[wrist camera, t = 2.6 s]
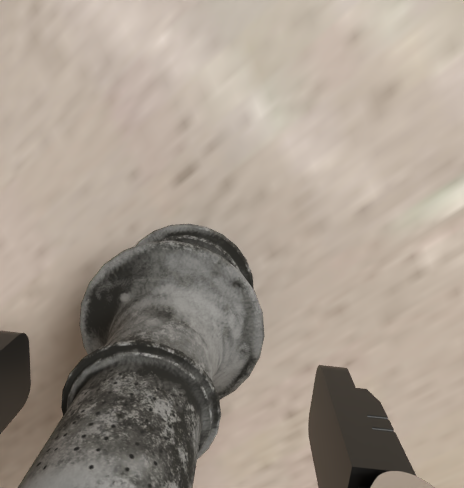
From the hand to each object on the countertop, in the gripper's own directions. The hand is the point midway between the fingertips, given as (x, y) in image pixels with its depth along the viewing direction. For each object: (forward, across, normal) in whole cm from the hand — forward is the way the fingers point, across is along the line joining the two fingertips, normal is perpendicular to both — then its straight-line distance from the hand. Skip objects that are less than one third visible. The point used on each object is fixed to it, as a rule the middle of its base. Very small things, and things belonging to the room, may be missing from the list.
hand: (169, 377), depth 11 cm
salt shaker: (+6, 0, 0) cm, 6 cm away
